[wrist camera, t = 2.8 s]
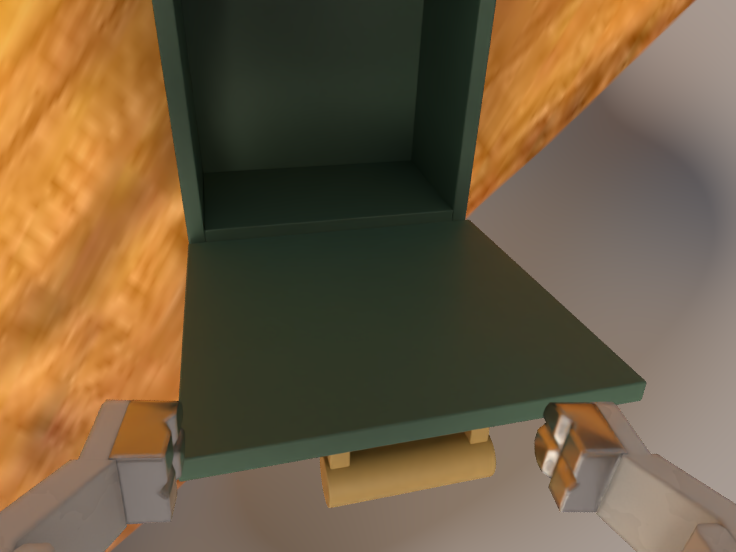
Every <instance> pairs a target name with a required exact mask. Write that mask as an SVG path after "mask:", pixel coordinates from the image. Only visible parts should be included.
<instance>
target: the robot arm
mask: <svg viewBox="0 0 736 552" xmlns="http://www.w3.org/2000/svg"><path fill="white" fill-rule="evenodd" d="M183 415H184V414H183V406H182V402H181V401H155V400H132V401H131V400H106V401H105V402H104V403H103V404H102V405H101V408H100V410H99V412H98V415H97V417H96V419H95V421H94V424H93V426H92V428H91V431H90V433H89V435H88V438H87V440H86V442H85V445H84V447H83V449H82V451H81V454H80V456H79V458H78V460H70V461H68V462H67V463H65V464H64V465H63V466H61V467H60V468H59V469H57V470H56V471H55V472H53V473H52V474H51V475H49V476H48V477H47V478H45V479H44V480H43V481H41V482H40V483H39V484H37V485H36V486H34V487H33V488H32V489H30V490H29V491H28V492H26V493H25V494H24V495H22V496H21V497H20V498H18V499H17V500H16V501H14V502H13V503H12V504H10V505H9V506H8V507H6V508H5V509H3V510H2V511H1V512H0V552H104V551H105V550H106V549H107V548H108V547H109V546H110V545H111V544H112V542H113V541H114V540H115V539H116V538H117V537H118V536H119V535H120V534H121V532H122V531H123V530H124V529H125V528H126V527H127V525H126V524H138V523H158V522H171V519H172V515H173V511H174V506H175V502H176V497H177V484H176V480H178V479H179V478H180V477H181V475H182V470H183V465H184V457H185V431H184V430H183V429H182V428H181V424H182V420H183ZM543 417H544V419H545V421H546V423H545V424H544V425H543V426H542V427H540V428H539V429H538V430H537V434H536V437H535V456H536V460H537V463H538V465H539V467H540V470H541V471H542V472H543V473H544V474H546V475H547V476H548V477H549V478H551V481H550V484H549V489H550V491H551V493H552V495H553V498H554V500H555V502H556V504H557V506H558V508H559V511H560V512H597V513H596V514H597V515H598V516H599V517H600V518H601V519H602V520H603V521H604V522H605V523H606V524H607V525H609V527H610V528H612V529H613V530H614V531H615V532H616V533H617V534H618V535H619V536H620V537H621V538H622V539H623V540H624V541H625V542H627V543H628V544H629V545H630V546H631V547H632V548H633V549H634V550H635V551H636V552H736V504H735V503H733V502H732V501H730V500H729V499H727V498H726V497H724V496H722V495H721V494H719V493H718V492H716V491H714V490H713V489H711V488H710V487H708V486H707V485H705V484H704V483H702V482H700V481H699V480H697V479H696V478H694V477H692V476H691V475H689V474H688V473H686V472H685V471H683V470H682V469H680V468H678V467H677V466H675V465H674V464H672V463H671V462H669V461H667V460H666V459H664V458H663V457H661V456H660V455H658V454H651V453H650V452H649V450H648V449H647V448H646V446H645V445H644V443H643V442H642V440H641V439H640V437H639V436H638V435H637V433H636V432H635V430H634V429H633V428H632V426H631V425H630V423H629V422H628V420H627V419H626V418H625V416H624V415H623V414H622V412H621V411H620V409H619V408H618V406H617V405H616V404H614V403H613V402H590V403H589V402H550V403H549V404H548V405H547V406H546V407H545V410H544V413H543Z"/></svg>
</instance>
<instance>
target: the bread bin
mask: <svg viewBox="0 0 736 552" xmlns="http://www.w3.org/2000/svg"><path fill="white" fill-rule="evenodd" d="M152 4H153V11H154V17H155V24H156V30H157V37H158V43H159V50H160V57H161V63H162V70H163V76H164V83H165V89H166V96H167V102H168V109H169V116H170V122H171V129H172V135H173V142H174V148H175V155H176V161H177V168H178V175H179V181H180V188H181V194H182V201H183V207H184V214H185V220H186V227H187V234H188V240H189V244H192V243H204V242H215V241H227V240H239V239H250V238H262V237H273V236H285V235H297V234H308V233H320V232H332V231H343V230H355V229H367V228H378V227H390V226H402V225H413V224H425V223H436V222H448V221H460V220H465V217H466V210H467V203H468V196H469V189H470V182H471V175H472V168H473V160H474V153H475V146H476V139H477V132H478V125H479V118H480V111H481V104H482V97H483V90H484V83H485V76H486V69H487V62H488V54H489V47H490V40H491V33H492V26H493V19H494V12H495V5H496V0H152Z"/></svg>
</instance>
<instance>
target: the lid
mask: <svg viewBox="0 0 736 552" xmlns="http://www.w3.org/2000/svg"><path fill="white" fill-rule="evenodd" d="M645 386H646V381H645V380H644V379H643V378H642V377H641V376H639V375H638V374H637V373H636V372H635V371H634V370H633V369H632V368H631V367H630V366H629V365H627V364H626V363H625V362H624V361H623V360H622V359H621V358H620V357H619V356H618V355H616V354H615V353H614V352H613V351H612V350H611V349H610V348H609V347H608V346H607V345H605V344H604V343H603V342H602V341H601V340H600V339H599V338H598V337H597V336H596V335H595V334H593V333H592V332H591V331H590V330H589V329H588V328H587V327H586V326H585V325H584V324H583V323H581V322H580V321H579V320H578V319H577V318H576V317H575V316H574V315H572V313H571V312H569V311H568V310H567V309H566V308H565V307H564V306H563V305H562V304H561V303H559V301H557V300H556V299H555V298H554V297H553V296H552V295H551V294H550V293H549V292H548V291H546V290H545V289H544V288H543V287H542V286H541V285H540V284H539V283H538V282H537V281H536V280H534V279H533V278H532V277H531V276H530V275H529V274H528V273H527V272H526V271H525V270H523V269H522V268H521V267H520V266H519V265H518V264H517V263H516V262H515V261H513V260H512V259H511V258H510V257H509V256H508V255H507V254H506V253H505V252H504V251H503V250H502V249H501V248H499V247H498V246H497V245H496V244H495V243H494V242H493V241H492V240H491V239H489V238H488V237H487V236H486V235H485V234H484V233H483V232H482V231H481V230H480V229H479V228H478V227H476V226H475V225H474V224H473V223H472V222H471V221H470V220H460V221H448V222H436V223H425V224H413V225H402V226H390V227H378V228H367V229H355V230H343V231H332V232H320V233H308V234H297V235H285V236H273V237H262V238H250V239H239V240H227V241H215V242H204V243H192V244H189V245H188V258H187V275H186V291H185V307H184V323H183V339H182V356H181V372H180V388H179V401H181V402H182V406H183V414H184V415H183V420H182V424H181V428H182V429H183V430H184V431H185V457H184V465H183V470H182V475H181V477H180V478H179V481H187V480H193V479H199V478H204V477H210V476H216V475H221V474H227V473H232V472H238V471H244V470H249V469H255V468H261V467H267V466H272V465H278V464H283V463H289V462H295V461H300V460H306V459H312V458H318V457H320V468H321V478H322V485H323V491H324V496H325V500H326V503H327V506H328V507H329V508H333V507H338V506H343V505H348V504H353V503H358V502H363V501H368V500H373V499H378V498H383V497H388V496H393V495H399V494H404V493H409V492H414V491H419V490H423V489H429V488H434V487H439V486H444V485H449V484H454V483H459V482H464V481H469V480H474V479H480V478H484V477H490V476H492V475H493V474H494V472H495V468H496V457H495V452H494V447H493V443H492V441H491V438H490V436H489V428H490V427H494V426H499V425H505V424H511V423H516V422H522V421H528V420H533V419H539V418H544V417H543V413H544V410H545V407H546V406H547V405H548V404H549V403H550V402H589V403H590V402H613V403H614V404H616V405H618V404H624V403H629V402H635V401H640V400H641V399H642V396H643V393H644V390H645Z"/></svg>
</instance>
